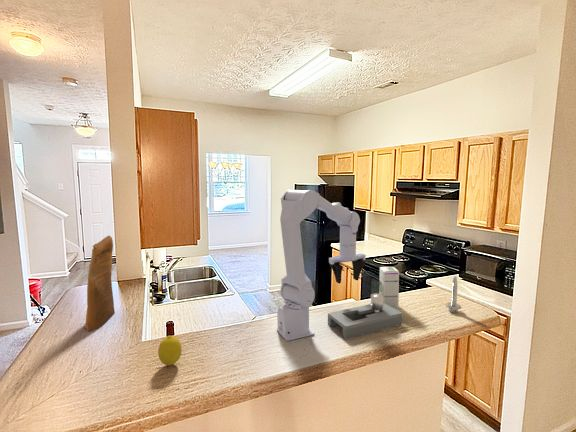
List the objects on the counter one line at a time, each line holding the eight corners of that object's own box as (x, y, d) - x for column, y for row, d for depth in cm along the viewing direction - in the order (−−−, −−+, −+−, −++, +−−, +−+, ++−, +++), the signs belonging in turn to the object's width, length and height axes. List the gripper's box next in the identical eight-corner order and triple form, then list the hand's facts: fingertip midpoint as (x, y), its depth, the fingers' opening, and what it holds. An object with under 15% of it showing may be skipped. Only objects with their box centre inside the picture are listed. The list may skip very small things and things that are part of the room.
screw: (452, 314, 106) (442, 309, 110) (464, 313, 107) (454, 308, 111) (454, 278, 104) (444, 274, 109) (466, 277, 105) (456, 273, 110)
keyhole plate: (345, 339, 90) (345, 326, 89) (327, 324, 99) (327, 313, 99) (402, 324, 99) (402, 312, 98) (381, 312, 108) (381, 301, 107)
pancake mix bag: (124, 307, 114) (119, 234, 110) (101, 332, 95) (93, 244, 92) (105, 309, 113) (99, 234, 109) (77, 334, 94) (69, 245, 91)
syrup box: (398, 309, 110) (400, 270, 108) (382, 309, 110) (383, 270, 109) (393, 303, 116) (395, 266, 114) (378, 303, 116) (379, 266, 114)
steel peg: (375, 325, 98) (376, 298, 98) (368, 320, 102) (368, 294, 101) (385, 322, 100) (386, 296, 99) (377, 318, 104) (378, 292, 103)
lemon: (174, 356, 82) (173, 328, 81) (186, 364, 78) (185, 334, 77) (155, 366, 77) (153, 336, 77) (166, 375, 74) (164, 344, 73)
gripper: (357, 240, 115) (356, 275, 117) (324, 244, 109) (324, 280, 111) (369, 244, 109) (368, 280, 110) (335, 247, 103) (334, 286, 105)
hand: (347, 281), depth 110 cm, fingers open, 7 cm apart
